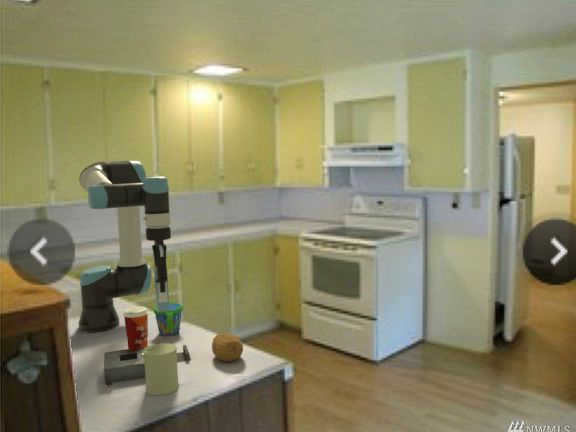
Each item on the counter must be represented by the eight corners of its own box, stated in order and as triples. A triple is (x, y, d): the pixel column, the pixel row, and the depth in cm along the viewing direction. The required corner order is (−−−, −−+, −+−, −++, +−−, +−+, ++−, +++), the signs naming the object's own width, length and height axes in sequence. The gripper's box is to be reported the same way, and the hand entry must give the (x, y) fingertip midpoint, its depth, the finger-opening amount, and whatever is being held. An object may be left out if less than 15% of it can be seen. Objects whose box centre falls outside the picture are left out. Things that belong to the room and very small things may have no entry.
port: (105, 367, 160) (104, 351, 160) (151, 360, 165) (150, 345, 164) (105, 385, 147) (103, 368, 146) (154, 377, 151) (153, 360, 151)
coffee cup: (143, 357, 167) (141, 313, 166) (120, 356, 169) (117, 312, 167) (155, 348, 175) (152, 306, 174) (133, 347, 177) (130, 305, 175)
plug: (156, 309, 162) (154, 266, 161) (168, 307, 163) (165, 264, 162) (157, 312, 159) (155, 268, 157) (169, 310, 160) (167, 267, 158)
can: (148, 382, 149) (146, 342, 147) (180, 380, 150) (178, 340, 148) (142, 396, 140) (140, 354, 138) (176, 394, 140) (174, 352, 139)
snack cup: (183, 338, 185) (182, 311, 183) (153, 341, 183) (152, 313, 181) (183, 325, 200) (182, 299, 199) (156, 327, 198) (154, 302, 197)
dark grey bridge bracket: (163, 356, 168) (163, 348, 167) (188, 353, 170) (187, 344, 170) (166, 365, 160) (165, 356, 160) (191, 361, 163) (191, 352, 162)
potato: (233, 349, 172) (232, 326, 171) (250, 363, 160) (249, 339, 159) (205, 355, 168) (204, 332, 167) (221, 370, 155) (220, 345, 155)
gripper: (143, 224, 164) (147, 295, 167) (148, 230, 149) (152, 308, 152) (166, 222, 167) (170, 292, 170) (174, 229, 151) (178, 305, 154)
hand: (162, 300), depth 161 cm, fingers closed on plug, 4 cm apart
